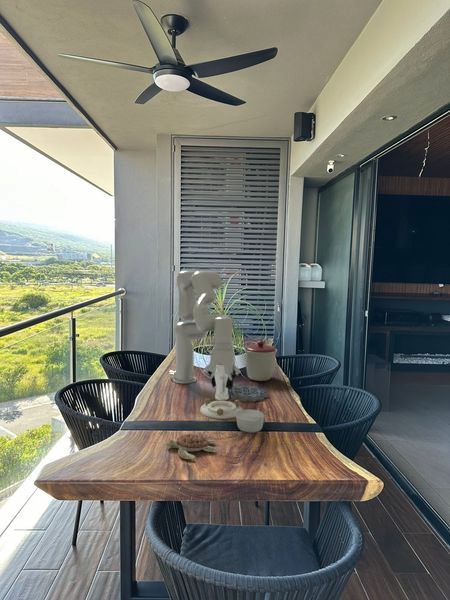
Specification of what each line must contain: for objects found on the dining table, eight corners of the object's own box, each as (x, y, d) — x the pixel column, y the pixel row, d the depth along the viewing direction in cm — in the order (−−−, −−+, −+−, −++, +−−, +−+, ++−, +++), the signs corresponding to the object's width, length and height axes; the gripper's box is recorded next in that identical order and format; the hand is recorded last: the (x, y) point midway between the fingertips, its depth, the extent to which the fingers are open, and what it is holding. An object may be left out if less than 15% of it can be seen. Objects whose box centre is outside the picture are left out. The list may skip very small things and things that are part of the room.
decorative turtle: (168, 437, 142) (168, 424, 142) (214, 437, 143) (214, 424, 143) (164, 462, 124) (164, 447, 124) (216, 462, 125) (217, 447, 125)
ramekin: (244, 436, 144) (244, 422, 144) (230, 424, 154) (230, 411, 154) (270, 430, 149) (270, 417, 149) (254, 420, 159) (254, 407, 159)
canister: (281, 377, 220) (282, 340, 218) (266, 385, 205) (268, 345, 203) (252, 372, 230) (254, 336, 228) (237, 379, 214) (238, 341, 212)
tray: (193, 415, 163) (193, 406, 162) (209, 401, 180) (209, 392, 179) (234, 421, 157) (235, 412, 156) (247, 406, 174) (247, 398, 173)
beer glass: (232, 396, 169) (233, 362, 168) (225, 401, 163) (226, 366, 162) (218, 394, 172) (218, 360, 171) (210, 398, 166) (211, 364, 165)
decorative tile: (273, 393, 194) (273, 388, 194) (257, 405, 176) (257, 400, 176) (236, 386, 203) (236, 382, 203) (218, 397, 185) (218, 392, 185)
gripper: (200, 345, 165) (199, 387, 167) (240, 349, 159) (238, 392, 161) (207, 342, 172) (206, 382, 174) (245, 346, 166) (244, 387, 168)
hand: (222, 387), depth 167 cm, fingers closed on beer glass, 6 cm apart
